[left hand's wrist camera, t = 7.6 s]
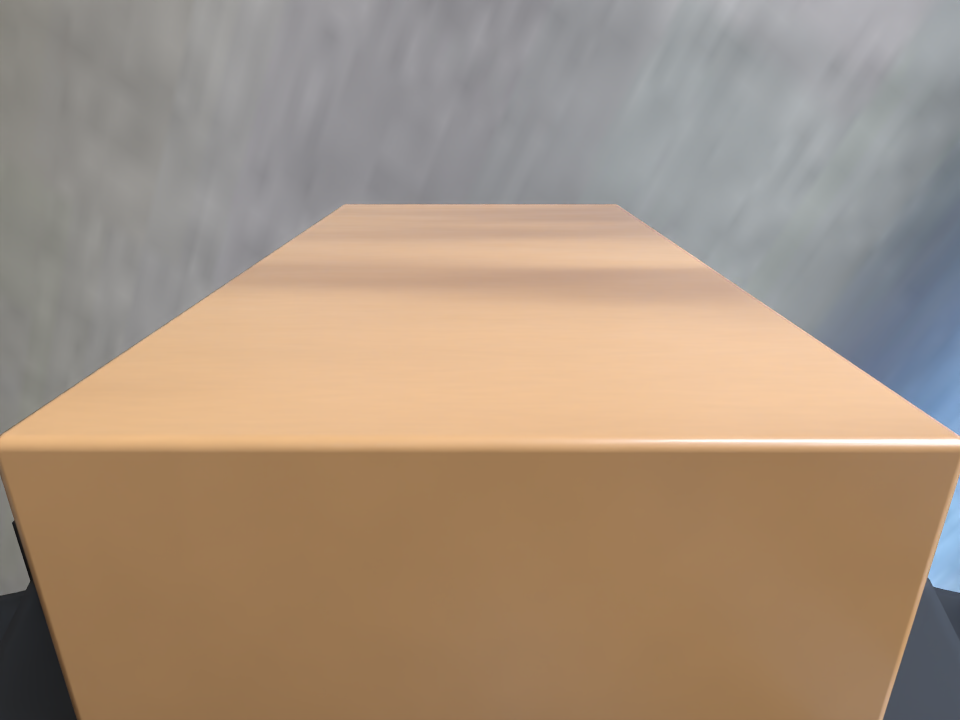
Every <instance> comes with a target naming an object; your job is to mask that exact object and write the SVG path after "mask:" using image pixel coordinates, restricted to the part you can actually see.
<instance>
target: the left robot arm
mask: <svg viewBox="0 0 960 720" xmlns="http://www.w3.org/2000/svg"><path fill="white" fill-rule="evenodd" d="M12 524H13V527H14V531H15V534H16V537H17V540H18V543H19V546H20V549H21V553H22V556H23V559H24V562H25V565H26V568H27V571H28V575H29V578H30V583H29V585H28V587H27V589H26V590H24V591H21V592H17V593H12V594H7V595H2V596H0V720H77V718H76V715H75V712H74V708H73V705H72V702H71V699H70V696H69V692H68V689H67V686H66V683H65V680H64V676H63V673H62V670H61V667H60V664H59V660H58V657H57V654H56V651H55V648H54V644H53V641H52V638H51V635H50V632H49V629H48V625H47V622H46V619H45V616H44V613H43V609H42V606H41V603H40V600H39V597H38V593H37V590H36V587H35V584H34V581H33V577H32V574H31V571H30V568H29V565H28V561H27V558H26V555H25V552H24V549H23V545H22V542H21V539H20V536H19V533H18V529H17V526H16V523H15V520H14V521H13V522H12ZM883 720H960V593H958V592H953V591H948V590H943V589H939V588H936V587H933V586H932V584H931V582H930V580H929V579H928V577H927V580H926V583H925V586H924V590H923V593H922V596H921V599H920V602H919V606H918V609H917V612H916V615H915V618H914V621H913V625H912V628H911V631H910V634H909V637H908V641H907V644H906V647H905V650H904V653H903V657H902V660H901V663H900V666H899V669H898V672H897V676H896V679H895V682H894V685H893V688H892V692H891V695H890V698H889V701H888V704H887V708H886V711H885V714H884V717H883Z"/></svg>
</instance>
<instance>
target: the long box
mask: <svg viewBox="0 0 960 720" xmlns="http://www.w3.org/2000/svg"><path fill="white" fill-rule="evenodd" d="M0 475H1V478H2V482H3V485H4V488H5V491H6V494H7V498H8V501H9V504H10V507H11V510H12V513H13V517H14V520H15V523H16V526H17V529H18V533H19V536H20V539H21V542H22V545H23V549H24V552H25V555H26V558H27V561H28V565H29V568H30V571H31V574H32V577H33V581H34V584H35V587H36V590H37V593H38V597H39V600H40V603H41V606H42V609H43V613H44V616H45V619H46V622H47V625H48V629H49V632H50V635H51V638H52V641H53V644H54V648H55V651H56V654H57V657H58V660H59V664H60V667H61V670H62V673H63V676H64V680H65V683H66V686H67V689H68V692H69V696H70V699H71V702H72V705H73V708H74V712H75V715H76V718H77V720H883V717H884V714H885V711H886V708H887V704H888V701H889V698H890V695H891V692H892V688H893V685H894V682H895V679H896V676H897V672H898V669H899V666H900V663H901V660H902V657H903V653H904V650H905V647H906V644H907V641H908V637H909V634H910V631H911V628H912V625H913V621H914V618H915V615H916V612H917V609H918V606H919V602H920V599H921V596H922V593H923V590H924V586H925V583H926V580H927V577H928V574H929V570H930V567H931V564H932V561H933V558H934V555H935V551H936V548H937V545H938V542H939V539H940V535H941V532H942V529H943V526H944V523H945V519H946V516H947V513H948V510H949V507H950V503H951V500H952V497H953V494H954V491H955V488H956V484H957V481H958V478H959V475H960V436H959V435H957V434H956V433H954V432H953V431H951V430H950V429H948V428H947V427H945V426H944V425H943V424H941V423H940V422H938V421H937V420H935V419H934V418H932V417H931V416H929V415H928V414H926V413H925V412H923V411H922V410H920V409H919V408H917V407H916V406H914V405H913V404H911V403H910V402H908V401H907V400H906V399H904V398H903V397H901V396H900V395H898V394H897V393H895V392H894V391H892V390H891V389H889V388H888V387H886V386H885V385H883V384H882V383H880V382H879V381H877V380H876V379H874V378H873V377H871V376H870V375H869V374H867V373H866V372H864V371H863V370H861V369H860V368H858V367H857V366H855V365H854V364H852V363H851V362H849V361H848V360H846V359H845V358H843V357H842V356H840V355H839V354H837V353H836V352H834V351H833V350H832V349H830V348H829V347H827V346H826V345H824V344H823V343H821V342H820V341H818V340H817V339H815V338H814V337H812V336H811V335H809V334H808V333H806V332H805V331H803V330H802V329H800V328H799V327H798V326H796V325H795V324H793V323H792V322H790V321H789V320H787V319H786V318H784V317H783V316H781V315H780V314H778V313H777V312H775V311H774V310H772V309H771V308H769V307H768V306H766V305H765V304H763V303H762V302H761V301H759V300H758V299H756V298H755V297H753V296H752V295H750V294H749V293H747V292H746V291H744V290H743V289H741V288H740V287H738V286H737V285H735V284H734V283H732V282H731V281H729V280H728V279H726V278H725V277H724V276H722V275H721V274H719V273H718V272H716V271H715V270H713V269H712V268H710V267H709V266H707V265H706V264H704V263H703V262H701V261H700V260H698V259H697V258H695V257H694V256H692V255H691V254H689V253H688V252H687V251H685V250H684V249H682V248H681V247H679V246H678V245H676V244H675V243H673V242H672V241H670V240H669V239H667V238H666V237H664V236H663V235H661V234H660V233H658V232H657V231H655V230H654V229H653V228H651V227H650V226H648V225H647V224H645V223H644V222H642V221H641V220H639V219H638V218H636V217H635V216H633V215H632V214H630V213H629V212H627V211H626V210H624V209H623V208H621V207H620V206H618V205H616V204H345V205H343V206H341V207H340V208H338V209H337V210H335V211H334V212H332V213H331V214H329V215H328V216H326V217H325V218H323V219H322V220H320V221H319V222H317V223H316V224H314V225H313V226H311V227H310V228H308V229H307V230H305V231H304V232H302V233H301V234H299V235H298V236H296V237H295V238H293V239H292V240H290V241H289V242H287V243H286V244H284V245H283V246H281V247H280V248H278V249H277V250H275V251H274V252H272V253H271V254H269V255H268V256H266V257H265V258H263V259H262V260H260V261H259V262H257V263H256V264H255V265H253V266H252V267H250V268H249V269H247V270H246V271H244V272H243V273H241V274H240V275H238V276H237V277H235V278H234V279H232V280H231V281H229V282H228V283H226V284H225V285H223V286H222V287H220V288H219V289H217V290H216V291H214V292H213V293H211V294H210V295H208V296H207V297H205V298H204V299H202V300H201V301H199V302H198V303H196V304H195V305H193V306H192V307H190V308H189V309H187V310H186V311H184V312H183V313H181V314H180V315H178V316H177V317H175V318H174V319H172V320H171V321H169V322H168V323H167V324H165V325H164V326H162V327H161V328H159V329H158V330H156V331H155V332H153V333H152V334H150V335H149V336H147V337H146V338H144V339H143V340H141V341H140V342H138V343H137V344H135V345H134V346H132V347H131V348H129V349H128V350H126V351H125V352H123V353H122V354H120V355H119V356H117V357H116V358H114V359H113V360H111V361H110V362H108V363H107V364H105V365H104V366H102V367H101V368H99V369H98V370H96V371H95V372H93V373H92V374H90V375H89V376H87V377H86V378H84V379H83V380H81V381H80V382H79V383H77V384H76V385H74V386H73V387H71V388H70V389H68V390H67V391H65V392H64V393H62V394H61V395H59V396H58V397H56V398H55V399H53V400H52V401H50V402H49V403H47V404H46V405H44V406H43V407H41V408H40V409H38V410H37V411H35V412H34V413H32V414H31V415H29V416H28V417H26V418H25V419H23V420H22V421H20V422H19V423H17V424H16V425H14V426H13V427H11V428H10V429H8V430H7V431H5V432H4V433H2V434H1V435H0Z"/></svg>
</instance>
